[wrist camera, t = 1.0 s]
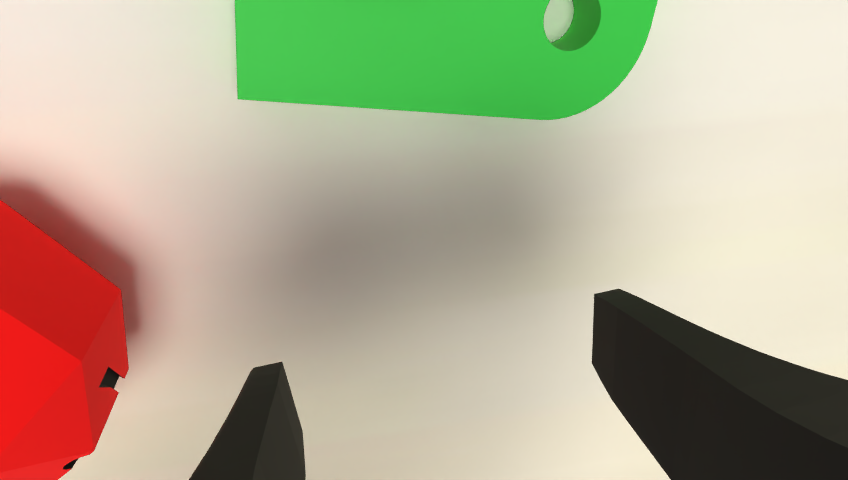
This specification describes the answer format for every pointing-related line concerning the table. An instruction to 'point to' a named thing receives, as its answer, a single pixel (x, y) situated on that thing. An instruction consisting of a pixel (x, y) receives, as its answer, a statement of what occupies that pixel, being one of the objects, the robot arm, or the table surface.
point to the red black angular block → (53, 352)
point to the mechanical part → (437, 54)
